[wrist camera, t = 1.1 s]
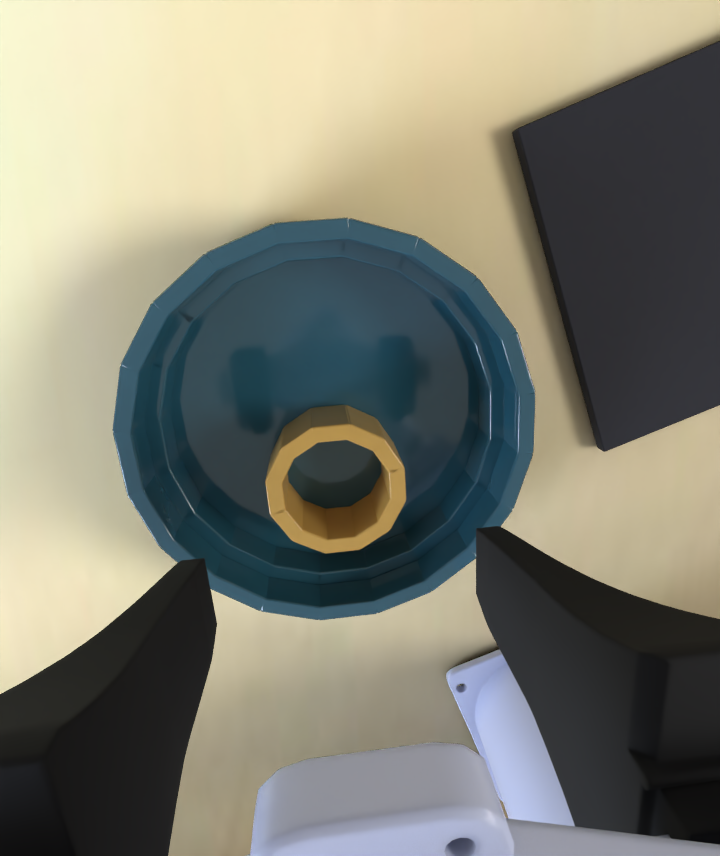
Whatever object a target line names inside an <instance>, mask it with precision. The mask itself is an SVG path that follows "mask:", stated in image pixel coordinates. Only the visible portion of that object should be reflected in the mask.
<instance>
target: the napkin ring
mask: <svg viewBox="0 0 720 856" xmlns="http://www.w3.org/2000/svg"><path fill="white" fill-rule="evenodd" d="M340 440H348V441H351V442H353V443H355V444H358V445H360V446H362V447H365V448H367V449H369V450H372V451H373V452H374V453H375V455H376V456H377V457H378V459H379V460H380V462H381V474H380V476H379V478H378V480H377V482H376V484H375V486H374V487H373V489H372V491H371V493H370V494H368V495H367V496H365V497H364V498H362V499H361V500H359V501H358V502H356V503H355V504H353V505H352V506H348V507H338V508H328V509H325V508H322V507H320V506H317V505H315V504H312V503H310V502H307V501H305V500H303V499H302V498H301V496H300V495H299V494H298V493H297V491H296V490H295V489H294V488H293V486H292V485H291V484H290V483H289V480H288V471H289V468H290V466H291V464H292V462H293V460H294V459H295V458H296V457H298V456H299V455H301V454H302V453H304V452H305V451H306V450H308V449H309V448H311V447H312V446H314V445H315V444H317V443H319V442H329V441H340ZM265 485H266V492H267V499H268V506H269V513H270V515H271V517H272V518H273V519H274V520H275V521H276V523H277V524H278V525H279V526H280V527H281V529H282V530H283V531H284V532H285V533H286V534H287V536H288V537H289V538H290V539H291V540H292V541H293V542H296V543H298V544H301V545H304V546H306V547H309V548H312V549H314V550H317V551H320V552H322V553H335V552H344V551H354V550H360V549H362V548H364V547H365V546H367V545H368V544H370V543H371V542H373V541H374V540H376V539H378V538H379V537H381V536H382V535H384V534H385V533H387V532H388V531H389V530H390V529H391V528H392V526H393V524H394V522H395V520H396V518H397V517H398V515H399V513H400V511H401V509H402V507H403V506H404V504H405V502H406V482H405V467H404V465H403V463H402V460H401V458H400V456H399V454H398V451H397V449H396V447H395V445H394V442H393V441H392V440H391V438H390V437H389V435H388V434H387V433H386V431H385V430H384V428H383V427H382V425H381V424H380V423H379V421H378V420H377V419H376V418H375V417H373V416H370V415H368V414H366V413H364V412H361V411H359V410H357V409H355V408H352V407H350V406H348V405H335V406H325V407H314V408H310V409H309V410H307V411H306V412H304V413H303V414H301V415H300V416H299V417H297V418H296V419H294V420H293V421H291V422H290V423H288V424H287V425H285V426H284V428H283V429H282V432H281V434H280V436H279V438H278V440H277V442H276V445H275V447H274V449H273V451H272V453H271V456H270V461H269V466H268V471H267V476H266V480H265Z"/></svg>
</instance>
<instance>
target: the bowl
mask: <svg viewBox="0 0 720 856" xmlns="http://www.w3.org/2000/svg"><path fill="white" fill-rule="evenodd" d="M335 405H348V406H350V407H352V408H355V409H357V410H359V411H361V412H364V413H366V414H368V415H370V416H373V417H375V418H376V419H377V420H378V421H379V423H380V424H381V425H382V427H383V428H384V430H385V431H386V433H387V434H388V435H389V437H390V438H391V440H392V441H393V442H394V445H395V447H396V449H397V451H398V454H399V456H400V458H401V460H402V463H403V465H404V467H405V482H406V502H405V504H404V506H403V507H402V509H401V511H400V513H399V515H398V517H397V518H396V520H395V522H394V524H393V526H392V528H391V529H390V530H389V531H388V532H387V533H385V534H384V535H382V536H381V537H379V538H378V539H376V540H374V541H373V542H371V543H370V544H368V545H367V546H365V547H364V548H362V549H360V550H354V551H344V552H335V553H322V552H320V551H317V550H314V549H312V548H309V547H306V546H304V545H301V544H298V543H296V542H293V541H292V540H291V539H290V538H289V537H288V536H287V534H286V533H285V532H284V531H283V530H282V529H281V527H280V526H279V525H278V524H277V523H276V521H275V520H274V519H273V518H272V517H271V515H270V513H269V506H268V499H267V492H266V485H265V480H266V476H267V471H268V466H269V461H270V456H271V453H272V451H273V449H274V447H275V445H276V442H277V440H278V438H279V436H280V434H281V432H282V429H283V428H284V426H285V425H287V424H288V423H290V422H291V421H293V420H294V419H296V418H297V417H299V416H300V415H301V414H303V413H304V412H306V411H307V410H309V409H310V408H314V407H325V406H335ZM534 418H535V389H534V385H533V382H532V379H531V376H530V372H529V369H528V366H527V362H526V359H525V356H524V352H523V349H522V346H521V342H520V339H519V336H518V333H517V332H516V329H515V328H514V326H513V325H512V324H511V322H510V321H509V319H508V318H507V317H506V315H505V314H504V313H503V311H502V310H501V308H500V307H499V306H498V304H497V303H496V302H495V300H494V299H493V297H492V296H491V295H490V293H489V292H488V291H487V289H486V288H485V286H484V285H483V284H482V282H481V281H480V280H479V279H478V278H477V277H476V275H474V274H473V273H471V272H470V271H468V270H467V269H465V268H464V267H462V266H461V265H460V264H458V263H457V262H455V261H454V260H452V259H451V258H449V257H448V256H446V255H445V254H444V253H442V252H441V251H439V250H438V249H436V248H435V247H433V246H432V245H430V244H429V243H428V242H426V241H425V240H423V239H422V238H419V237H417V236H414V235H411V234H407V233H403V232H399V231H396V230H392V229H388V228H385V227H381V226H377V225H374V224H370V223H366V222H363V221H359V220H355V219H352V218H350V219H348V218H336V219H322V220H308V221H294V222H280V223H274V224H270V225H268V226H266V227H263V228H261V229H259V230H256V231H254V232H252V233H249V234H247V235H245V236H243V237H240V238H238V239H236V240H233V241H231V242H229V243H226V244H224V245H222V246H219V247H217V248H215V249H213V250H210V251H208V252H207V253H206V254H203V255H202V256H201V257H200V258H199V259H198V260H197V261H196V262H195V263H194V264H193V265H192V266H190V267H189V268H188V269H187V270H186V271H185V272H184V273H183V274H182V275H181V276H180V277H179V278H178V279H177V280H176V281H174V282H173V283H172V284H171V285H170V286H169V287H168V288H167V289H166V290H165V291H164V292H163V293H162V294H161V295H160V296H158V297H157V298H156V299H155V300H154V301H153V303H152V304H151V305H150V307H149V309H148V311H147V313H146V315H145V317H144V319H143V321H142V323H141V325H140V327H139V329H138V331H137V333H136V335H135V337H134V339H133V341H132V343H131V345H130V347H129V349H128V351H127V353H126V355H125V357H124V359H123V361H122V363H121V366H120V372H119V380H118V389H117V397H116V406H115V414H114V423H113V431H114V432H113V435H114V439H115V444H116V448H117V452H118V457H119V461H120V465H121V470H122V474H123V478H124V483H125V487H126V491H127V493H128V497H129V498H130V500H131V502H132V503H133V505H134V507H135V508H136V510H137V511H138V513H139V515H140V516H141V518H142V519H143V521H144V523H145V524H146V526H147V528H148V529H149V531H150V532H151V534H152V536H153V537H154V539H155V541H156V542H157V544H158V545H159V547H161V549H162V550H164V551H165V552H166V553H167V554H168V555H169V556H171V557H172V558H173V559H174V560H175V561H176V562H178V563H179V562H180V561H181V560H191V559H200V558H205V563H206V568H207V574H208V579H209V584H210V589H212V590H214V591H216V592H219V593H221V594H223V595H225V596H228V597H230V598H232V599H234V600H236V601H239V602H241V603H243V604H245V605H248V606H250V607H252V608H254V609H256V610H259V611H260V610H261V611H262V612H268V613H275V614H281V615H288V616H295V617H301V618H308V619H315V620H326V619H335V618H343V617H352V616H360V615H369V614H376V613H377V612H378V613H380V612H382V611H385V610H387V609H390V608H392V607H395V606H397V605H400V604H402V603H405V602H407V601H410V600H412V599H415V598H417V597H420V596H422V595H425V594H427V593H430V592H431V591H433V590H435V589H436V588H437V587H438V586H440V585H441V584H442V583H444V582H445V581H446V580H448V579H449V578H450V577H452V576H453V575H454V574H456V573H457V572H458V571H460V570H461V569H462V568H463V567H465V566H466V565H467V564H469V563H470V562H471V561H473V560H474V559H475V558H476V528H484V527H493V526H501V525H502V524H503V522H504V521H505V520H506V518H507V517H508V516H509V514H510V513H511V512H512V509H513V508H514V506H515V503H516V500H517V497H518V495H519V492H520V489H521V486H522V484H523V481H524V478H525V475H526V472H527V470H528V467H529V464H530V461H531V459H532V456H533V448H534ZM380 474H381V462H380V460H379V459H378V457H377V456H376V455H375V453H374V452H373V451H372V450H369V449H367V448H365V447H362V446H360V445H358V444H355V443H353V442H351V441H348V440H340V441H329V442H319V443H317V444H315V445H314V446H312V447H311V448H309V449H308V450H306V451H305V452H304V453H302V454H301V455H299V456H298V457H296V458H295V459H294V460H293V462H292V464H291V466H290V468H289V471H288V480H289V483H290V484H291V485H292V486H293V488H294V489H295V490H296V491H297V493H298V494H299V495H300V496H301V498H302V499H303V500H305V501H307V502H310V503H312V504H315V505H317V506H320V507H322V508H325V509H328V508H338V507H348V506H352V505H353V504H355V503H356V502H358V501H359V500H361V499H362V498H364V497H365V496H367V495H368V494H370V493H371V491H372V489H373V487H374V486H375V484H376V482H377V480H378V478H379V476H380Z"/></svg>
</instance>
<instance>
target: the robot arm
mask: <svg viewBox="0 0 720 856" xmlns="http://www.w3.org/2000/svg"><path fill="white" fill-rule="evenodd" d="M476 594H477V597H478V600H479V603H480V606H481V609H482V612H483V614H484V617H485V620H486V622H487V625H488V627H489V629H490V631H491V633H492V635H493V637H494V639H495V641H496V643H497V645H498V647H499V650H496V651H494V652H491V653H489V654H486V655H484V656H481V657H479V658H476V659H473V660H471V661H468V662H466V663H463V664H461V665H458V666H456V667H453V668H451V669H450V670H449V671H448V672H447V675H446V678H447V681H448V684H449V686H450V689H451V691H452V693H453V695H454V698H455V700H456V702H457V704H458V707H459V709H460V711H461V713H462V715H463V718H464V720H465V722H466V724H467V727H468V729H469V731H470V733H471V736H472V738H473V740H474V742H475V744H476V747H477V749H478V751H479V753H480V755H479V754H477V753H476V752H474V751H473V750H471V749H470V748H468V747H466V746H465V745H462V744H454V743H441V742H430V743H422V744H415V745H407V746H400V747H392V748H385V749H377V750H370V751H363V752H355V753H348V754H340V755H333V756H325V757H318V758H310V759H306V760H303V761H300V762H297V763H294V764H291V765H288V766H285V767H282V768H280V769H278V770H277V771H276V772H275V773H274V774H273V775H272V776H271V777H270V778H269V779H268V780H267V781H266V782H265V783H264V784H263V785H262V786H261V787H260V788H259V791H258V796H257V802H256V807H255V814H254V824H253V834H252V844H251V854H248V855H246V856H720V619H716V618H712V617H707V616H703V615H699V614H695V613H691V612H687V611H683V610H679V609H675V608H672V607H668V606H665V605H661V604H658V603H655V602H652V601H649V600H646V599H643V598H640V597H637V596H634V595H631V594H629V593H626V592H623V591H621V590H618V589H616V588H613V587H611V586H609V585H606V584H604V583H601V582H599V581H597V580H595V579H592V578H590V577H588V576H586V575H584V574H582V573H580V572H578V571H576V570H574V569H572V568H570V567H568V566H566V565H564V564H563V563H561V562H559V561H557V560H555V559H554V558H552V557H550V556H548V555H547V554H545V553H543V552H542V551H540V550H538V549H537V548H535V547H533V546H532V545H530V544H528V543H527V542H525V541H523V540H522V539H520V538H519V537H517V536H515V535H514V534H512V533H510V532H509V531H507V530H505V529H503V528H501V527H500V526H493V527H484V528H476ZM216 627H217V622H216V616H215V611H214V606H213V600H212V595H211V590H210V584H209V579H208V574H207V568H206V563H205V558H200V559H191V560H181V561H180V562H179V563H177V564H176V565H175V566H174V567H173V568H172V569H171V570H169V571H168V572H167V573H166V574H165V575H164V576H163V577H162V578H161V579H160V580H159V581H158V582H157V583H156V584H155V585H154V586H153V587H151V588H150V589H149V590H148V591H147V592H146V593H145V594H144V595H143V596H142V597H141V598H140V599H138V600H137V601H136V602H135V603H134V604H133V605H132V606H131V607H129V608H128V609H127V610H126V611H125V612H123V613H122V614H121V615H120V616H119V617H117V618H116V619H115V620H114V621H113V622H112V623H110V624H109V625H108V626H107V627H106V628H104V629H103V630H102V631H100V632H99V633H98V634H97V635H95V636H94V637H93V638H91V639H90V640H88V641H87V642H86V643H84V644H83V645H81V646H80V647H78V648H77V649H76V650H74V651H73V652H71V653H70V654H68V655H67V656H65V657H64V658H62V659H61V660H59V661H57V662H56V663H54V664H52V665H51V666H49V667H47V668H46V669H44V670H42V671H41V672H39V673H38V674H36V675H34V676H33V677H31V678H29V679H28V680H26V681H24V682H22V683H20V684H19V685H17V686H15V687H13V688H11V689H9V690H7V691H5V692H4V693H2V694H0V856H168V852H169V845H170V839H171V833H172V827H173V821H174V814H175V808H176V802H177V796H178V791H179V785H180V780H181V774H182V769H183V763H184V758H185V754H186V750H187V746H188V742H189V738H190V735H191V731H192V728H193V724H194V721H195V717H196V714H197V710H198V707H199V703H200V700H201V696H202V693H203V689H204V686H205V682H206V679H207V675H208V672H209V668H210V664H211V661H212V655H213V649H214V642H215V634H216ZM459 684H463V685H461V686H457V685H459ZM496 791H497V792H496ZM497 794H498V795H497ZM498 796H499V798H500V800H501V801H503V803H504V806H505V809H506V812H507V814H508V817H509V818H505V815H504V812H503V809H502V807H501V804H500V801H499V798H498Z"/></svg>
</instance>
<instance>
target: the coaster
mask: <svg viewBox="0 0 720 856" xmlns="http://www.w3.org/2000/svg"><path fill="white" fill-rule="evenodd" d="M512 134H513V138H514V142H515V145H516V149H517V153H518V156H519V160H520V164H521V167H522V171H523V175H524V178H525V182H526V186H527V190H528V193H529V197H530V201H531V204H532V208H533V212H534V215H535V219H536V223H537V226H538V230H539V234H540V237H541V241H542V245H543V249H544V252H545V256H546V260H547V263H548V267H549V271H550V274H551V278H552V282H553V285H554V289H555V293H556V296H557V300H558V304H559V308H560V311H561V315H562V319H563V322H564V326H565V330H566V333H567V337H568V341H569V344H570V348H571V352H572V355H573V359H574V363H575V367H576V370H577V374H578V378H579V381H580V385H581V389H582V392H583V396H584V400H585V403H586V407H587V411H588V414H589V418H590V422H591V426H592V429H593V433H594V437H595V440H596V444H597V447H598V448H599V449H601V450H602V451H608V450H610V449H613V448H615V447H617V446H620V445H622V444H625V443H627V442H630V441H632V440H635V439H637V438H640V437H642V436H645V435H647V434H650V433H652V432H654V431H657V430H659V429H662V428H664V427H667V426H669V425H672V424H674V423H677V422H679V421H682V420H684V419H687V418H689V417H691V416H694V415H696V414H699V413H701V412H704V411H706V410H709V409H711V408H714V407H716V406H719V405H720V41H718V42H716V43H714V44H711V45H709V46H707V47H704V48H702V49H700V50H697V51H695V52H693V53H690V54H688V55H686V56H684V57H681V58H679V59H677V60H674V61H672V62H670V63H667V64H665V65H663V66H660V67H658V68H656V69H653V70H651V71H649V72H647V73H644V74H642V75H640V76H637V77H635V78H633V79H630V80H628V81H626V82H623V83H621V84H619V85H617V86H614V87H612V88H610V89H607V90H605V91H603V92H600V93H598V94H596V95H593V96H591V97H589V98H587V99H584V100H582V101H580V102H577V103H575V104H573V105H570V106H568V107H566V108H563V109H561V110H559V111H557V112H554V113H552V114H550V115H547V116H545V117H543V118H540V119H538V120H536V121H533V122H531V123H529V124H527V125H524V126H522V127H520V128H518V129H516V130H515V131H513V133H512Z"/></svg>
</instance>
